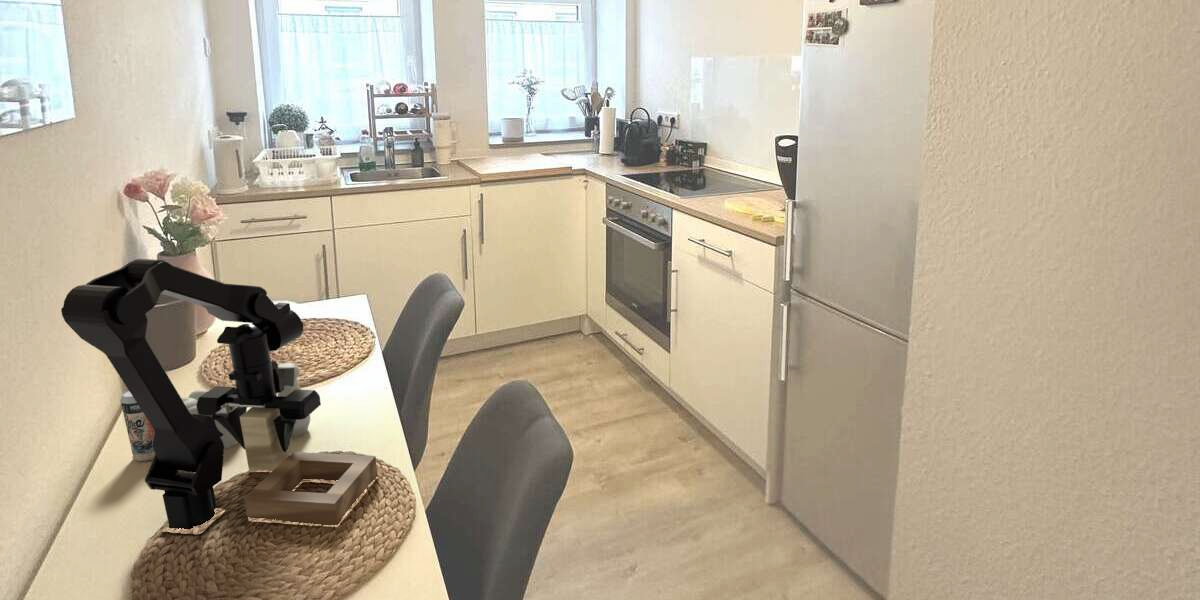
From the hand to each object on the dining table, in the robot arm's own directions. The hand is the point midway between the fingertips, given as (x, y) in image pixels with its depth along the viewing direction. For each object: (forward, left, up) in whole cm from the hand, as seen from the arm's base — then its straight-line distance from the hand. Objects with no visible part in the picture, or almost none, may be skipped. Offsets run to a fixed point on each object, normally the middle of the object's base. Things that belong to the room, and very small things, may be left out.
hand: (266, 449), depth 133 cm
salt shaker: (+12, +2, -3) cm, 13 cm away
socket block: (-9, -13, -3) cm, 16 cm away
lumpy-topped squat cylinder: (+7, +16, -3) cm, 18 cm away
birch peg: (0, 0, -3) cm, 3 cm away
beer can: (+1, +23, -3) cm, 23 cm away
